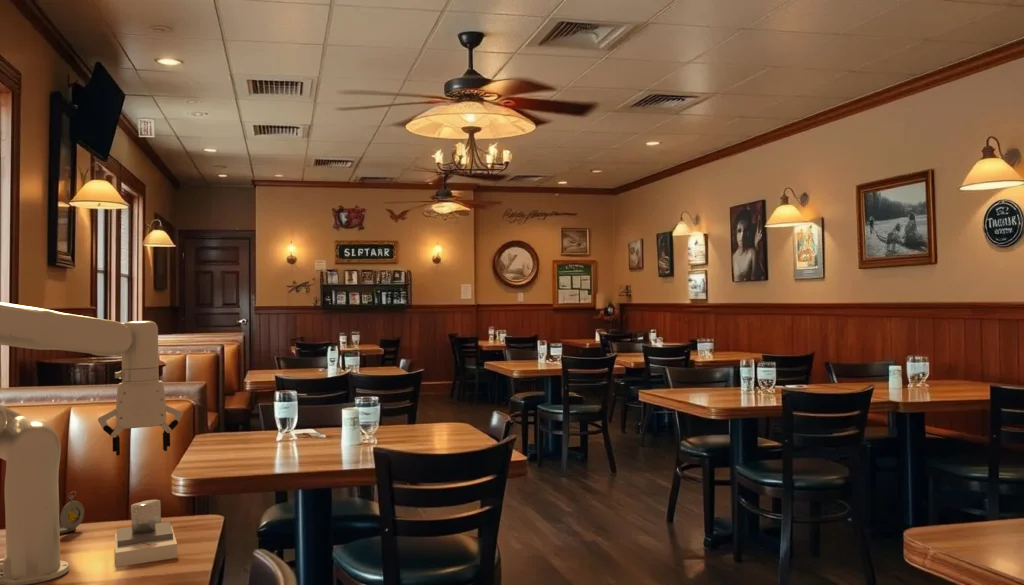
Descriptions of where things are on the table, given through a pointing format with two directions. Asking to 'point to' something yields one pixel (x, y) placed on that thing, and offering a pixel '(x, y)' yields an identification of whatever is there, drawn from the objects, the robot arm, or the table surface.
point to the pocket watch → (71, 515)
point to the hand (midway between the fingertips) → (141, 452)
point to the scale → (145, 545)
